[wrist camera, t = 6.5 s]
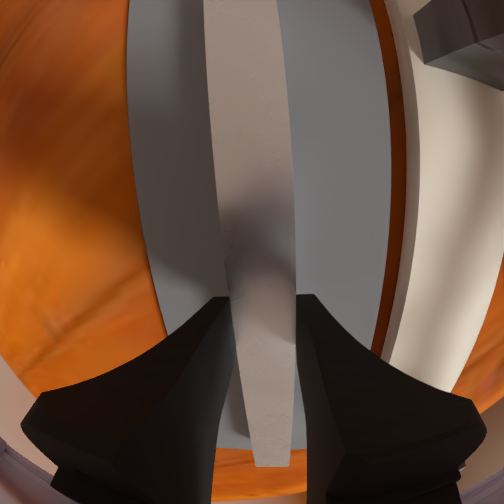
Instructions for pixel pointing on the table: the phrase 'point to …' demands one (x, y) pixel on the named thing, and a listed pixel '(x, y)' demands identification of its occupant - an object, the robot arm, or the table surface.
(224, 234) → the rail
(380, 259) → the mat
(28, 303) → the table surface
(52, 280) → the table surface
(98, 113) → the table surface
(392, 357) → the hook stand
